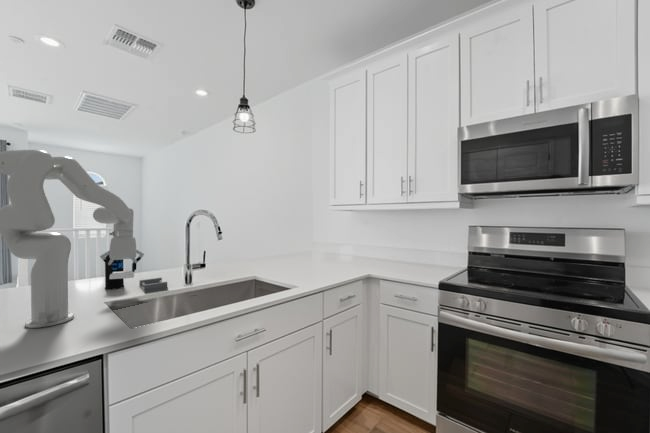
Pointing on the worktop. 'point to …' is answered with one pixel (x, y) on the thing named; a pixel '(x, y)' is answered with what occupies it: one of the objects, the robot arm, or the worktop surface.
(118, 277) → the white rectangular block
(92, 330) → the worktop surface
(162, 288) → the pin tray
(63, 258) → the robot arm
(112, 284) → the aerosol can
